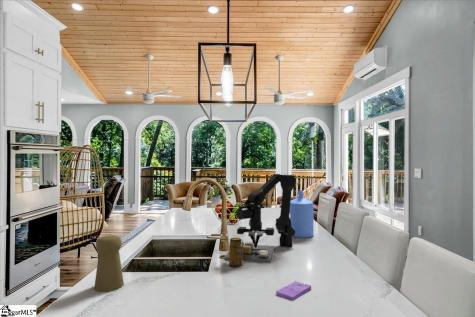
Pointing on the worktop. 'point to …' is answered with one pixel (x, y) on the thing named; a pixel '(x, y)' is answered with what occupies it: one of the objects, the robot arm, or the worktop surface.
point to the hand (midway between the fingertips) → (255, 247)
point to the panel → (256, 254)
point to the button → (263, 253)
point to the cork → (108, 264)
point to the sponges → (293, 290)
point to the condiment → (235, 254)
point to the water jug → (302, 216)
